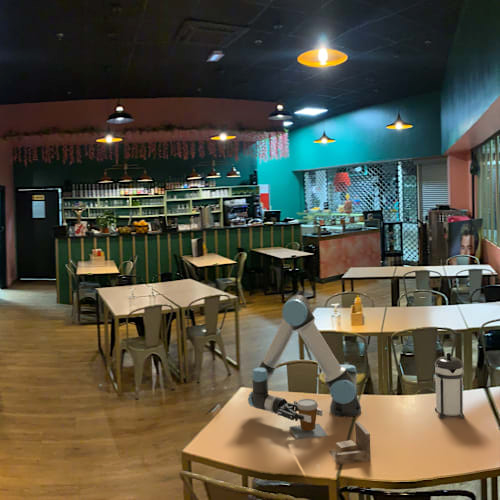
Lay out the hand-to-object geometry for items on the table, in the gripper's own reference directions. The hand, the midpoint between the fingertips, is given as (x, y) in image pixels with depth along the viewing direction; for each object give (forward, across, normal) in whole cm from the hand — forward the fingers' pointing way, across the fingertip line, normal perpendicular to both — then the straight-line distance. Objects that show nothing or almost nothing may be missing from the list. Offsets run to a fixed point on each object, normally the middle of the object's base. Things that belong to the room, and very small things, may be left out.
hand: (316, 416), depth 245 cm
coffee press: (+36, -57, -9) cm, 68 cm away
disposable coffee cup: (-5, 0, -7) cm, 8 cm away
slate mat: (-5, 0, -9) cm, 10 cm away
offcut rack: (+23, +10, -9) cm, 26 cm away
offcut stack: (+23, +11, -8) cm, 26 cm away
